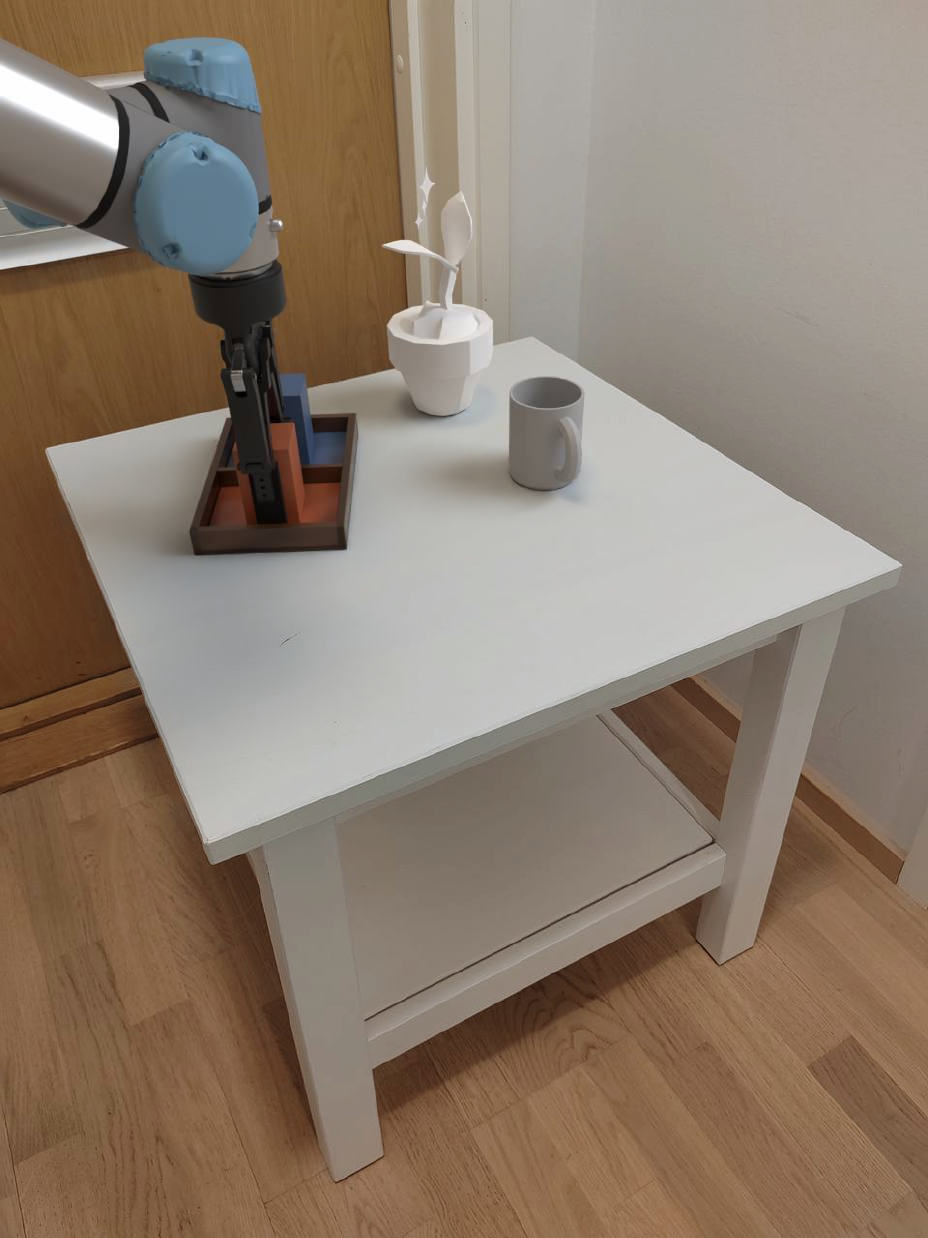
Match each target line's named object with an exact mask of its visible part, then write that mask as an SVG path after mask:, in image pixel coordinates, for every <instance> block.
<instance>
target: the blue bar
mask: <svg viewBox="0 0 928 1238" xmlns="http://www.w3.org/2000/svg"><path fill="white" fill-rule="evenodd" d="M279 374H280V380H281V387H282V393H283V399H284V404H285V407H286V409H285V412H284V413H282V415H283V417H291V421H292V423H294V425H295V432H296V439H297V445H298V452H299V459H300V465H310V464H311V461H312V455H313V449H314V436H313V428H312V421H311V415H312V413H311V407H310V400H309V393H308V385H307V377H306V373H304V372H303V373H279Z"/></svg>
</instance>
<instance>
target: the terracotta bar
mask: <svg viewBox="0 0 928 1238" xmlns="http://www.w3.org/2000/svg"><path fill="white" fill-rule="evenodd" d="M270 427H271V436H272V444H273V453H274V459H275V461H276V462H278V466H279V472H280V478H281V484H282V490H283V496H284V502H285V508H286V514H287V520H288V523H301V517H302V511H303V505H304V499H305V492H304V485H303V479H302V472H301V465H300V459H299V452H298V445H297V439H296V432H295V425H294V423H270ZM232 452H233V457H234V462H235V467H236V472H237V477H238V482H239V487H240V492H241V497H242V502H243V507H244V512H245V517H246V522H247V525H258V524H257V519H256V514H255V509H254V503H253V498H252V493H251V488H250V483H249V477H248V474H242V473H241V470H239V471H238V470H237V466H236V465H237V464H238V463H239V457H238V452H237V447H236V441H235V444H234V448H233V451H232Z"/></svg>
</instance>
